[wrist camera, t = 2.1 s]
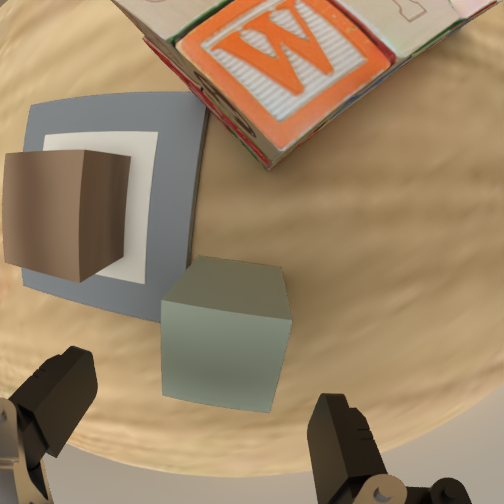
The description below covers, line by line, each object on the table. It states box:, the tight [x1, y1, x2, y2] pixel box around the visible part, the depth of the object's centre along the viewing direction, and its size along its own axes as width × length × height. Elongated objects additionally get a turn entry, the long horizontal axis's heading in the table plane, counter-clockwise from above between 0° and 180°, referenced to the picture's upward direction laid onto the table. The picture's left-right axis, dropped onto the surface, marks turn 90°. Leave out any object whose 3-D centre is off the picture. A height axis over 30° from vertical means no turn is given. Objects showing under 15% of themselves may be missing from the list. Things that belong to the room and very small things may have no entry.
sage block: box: [161, 255, 293, 413], centre depth 14 cm, size 5×5×7 cm
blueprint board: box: [2, 92, 209, 323], centre depth 14 cm, size 14×14×6 cm
